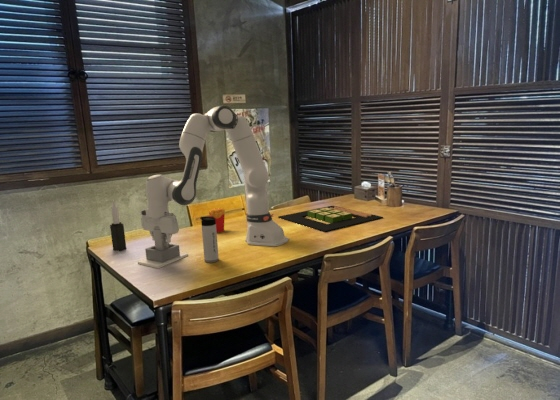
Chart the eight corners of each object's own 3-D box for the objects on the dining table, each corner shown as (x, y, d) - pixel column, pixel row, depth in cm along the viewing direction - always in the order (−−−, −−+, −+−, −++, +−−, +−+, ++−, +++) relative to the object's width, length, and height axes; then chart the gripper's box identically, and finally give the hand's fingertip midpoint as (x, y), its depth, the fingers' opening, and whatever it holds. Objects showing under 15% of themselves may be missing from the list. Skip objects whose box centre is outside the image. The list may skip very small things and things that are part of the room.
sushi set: (383, 219, 239) (383, 212, 238) (325, 233, 215) (325, 225, 214) (332, 207, 276) (332, 201, 275) (278, 219, 251) (278, 212, 250)
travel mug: (204, 258, 181) (200, 215, 178) (219, 257, 182) (215, 214, 178) (203, 263, 175) (199, 219, 171) (218, 262, 176) (214, 218, 172)
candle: (118, 251, 198) (112, 201, 193) (112, 250, 200) (105, 200, 195) (127, 248, 202) (121, 199, 197) (120, 247, 204) (114, 198, 200)
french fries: (211, 233, 222) (209, 210, 220) (209, 231, 226) (207, 209, 223) (227, 230, 226) (225, 208, 224) (224, 229, 230) (223, 207, 228)
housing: (188, 255, 187) (187, 243, 185) (158, 268, 172) (156, 255, 170) (168, 251, 193) (167, 239, 192) (137, 263, 178) (136, 250, 177)
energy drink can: (162, 254, 186) (159, 223, 183) (173, 256, 184) (169, 224, 181) (153, 259, 181) (150, 226, 178) (164, 260, 178) (160, 227, 176)
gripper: (180, 211, 175) (183, 242, 178) (148, 208, 186) (151, 236, 189) (169, 215, 170) (172, 246, 173) (137, 211, 181) (140, 240, 183)
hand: (161, 241), depth 181 cm, fingers open, 7 cm apart
